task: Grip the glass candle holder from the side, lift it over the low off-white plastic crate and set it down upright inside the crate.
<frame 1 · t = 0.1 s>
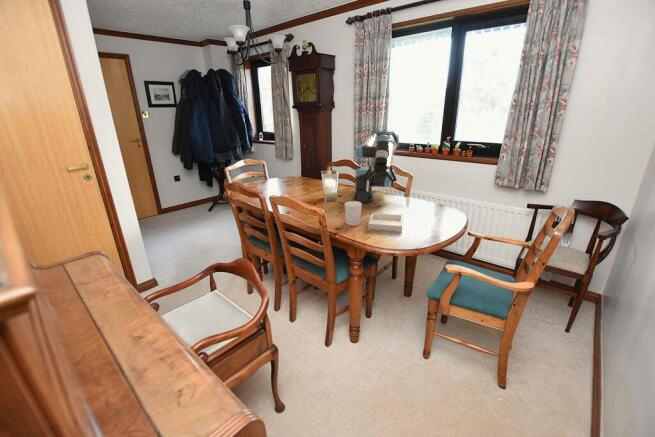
hand: (378, 191, 186), 15 cm above the table, tool tilted 35°, fingers open, 13 cm apart
crate: (386, 225, 175), on the table
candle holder: (353, 223, 180), on the table
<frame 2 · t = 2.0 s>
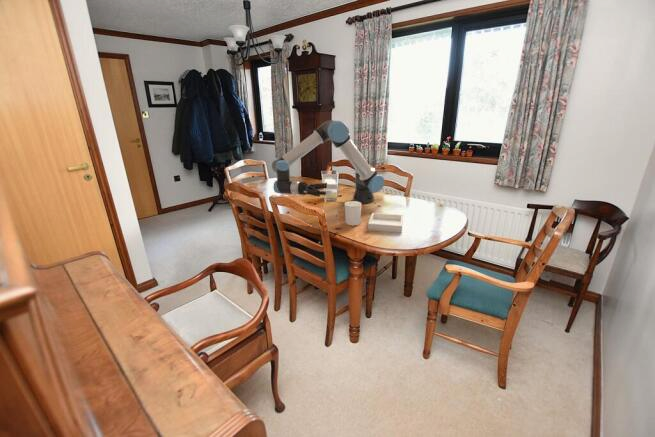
hand: (334, 189, 176), 20 cm above the table, tool horizontal, fingers open, 13 cm apart
nothing on the table moved.
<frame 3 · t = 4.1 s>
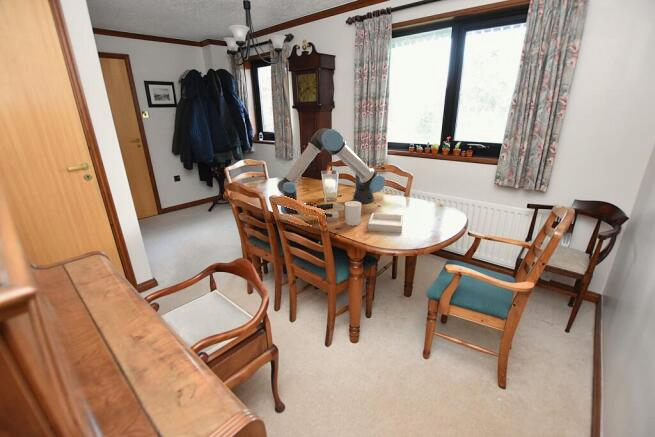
hand: (340, 211, 179), 7 cm above the table, tool horizontal, fingers open, 13 cm apart
nothing on the table moved.
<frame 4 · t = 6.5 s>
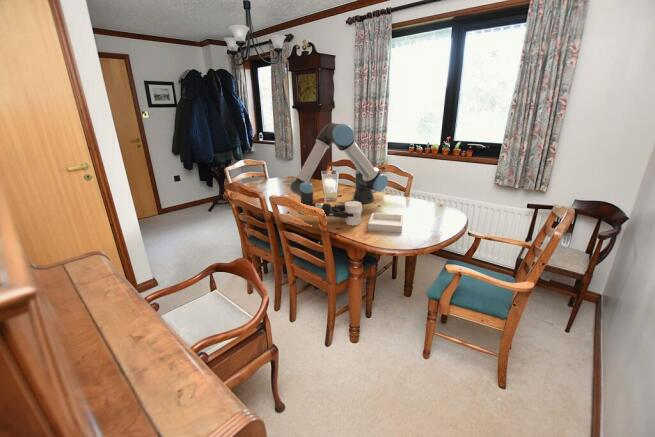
hand: (360, 212, 177), 7 cm above the table, tool horizontal, fingers closed on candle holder, 9 cm apart
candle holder: (353, 223, 180), on the table, touching gripper
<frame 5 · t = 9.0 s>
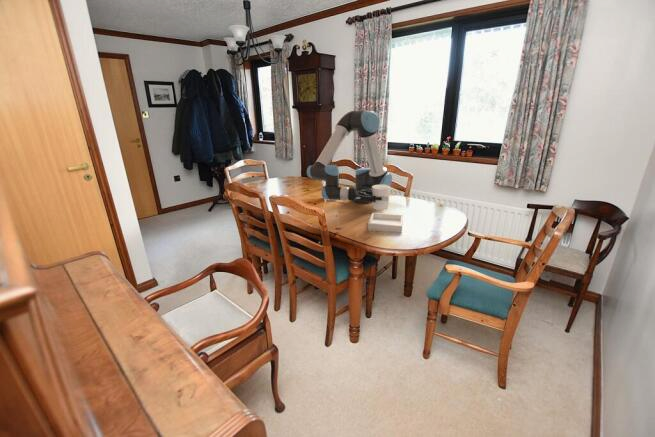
hand: (389, 196, 168), 18 cm above the table, tool horizontal, fingers closed on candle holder, 9 cm apart
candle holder: (380, 208, 172), point 11 cm above the table, touching gripper
when the fingers open (9 cm above the table, at t = 11.4 s): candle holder drops 1 cm, resting on crate.
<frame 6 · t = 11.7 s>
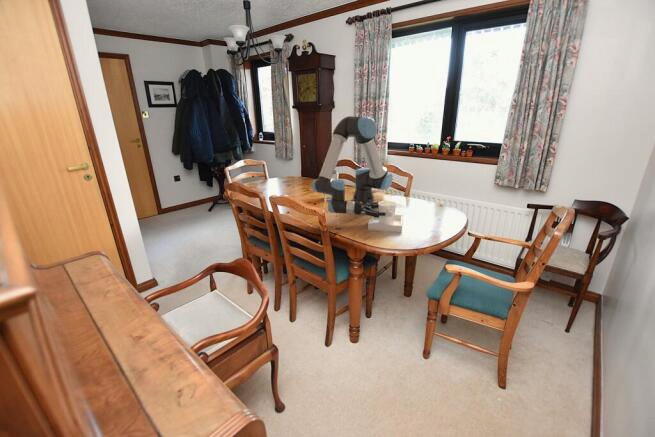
hand: (392, 210, 171), 9 cm above the table, tool horizontal, fingers open, 13 cm apart
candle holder: (385, 224, 175), point 1 cm above the table, touching crate
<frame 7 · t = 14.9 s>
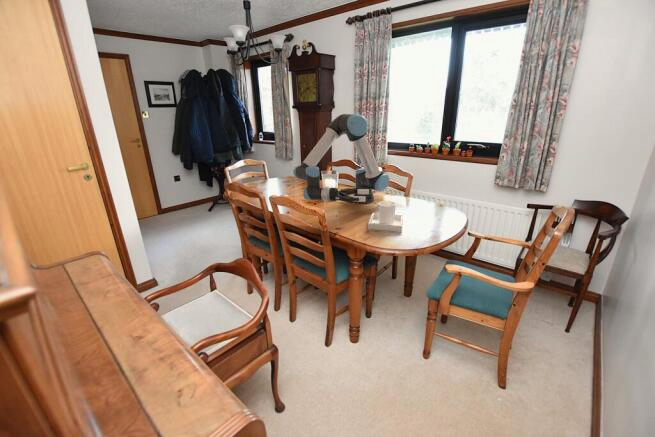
hand: (367, 195, 172), 17 cm above the table, tool horizontal, fingers open, 13 cm apart
nothing on the table moved.
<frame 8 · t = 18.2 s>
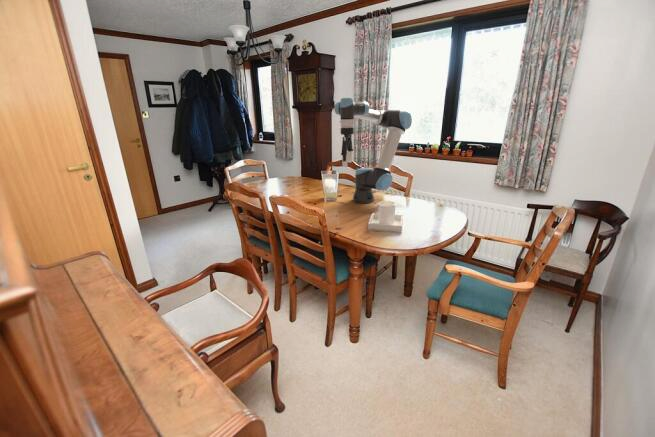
hand: (347, 164, 182), 32 cm above the table, tool pointing down, fingers open, 13 cm apart
nothing on the table moved.
at the end: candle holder inside the target area on the crate (0.1 cm from its centre), point 0.8 cm above the crate's base; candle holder tilted 0°; the gripper is holding nothing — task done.
